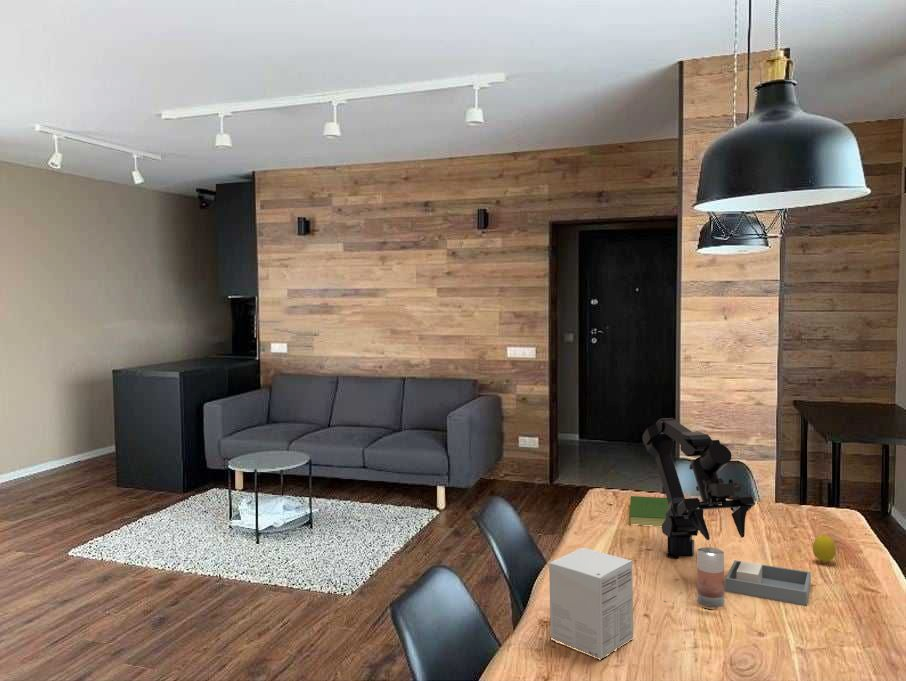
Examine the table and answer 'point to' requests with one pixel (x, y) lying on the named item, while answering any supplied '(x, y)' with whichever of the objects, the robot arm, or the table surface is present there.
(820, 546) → the lemon
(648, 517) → the hardcover book
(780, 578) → the tote
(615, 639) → the supplement box
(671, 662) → the table surface
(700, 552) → the steel tin
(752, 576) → the white rectangular block
